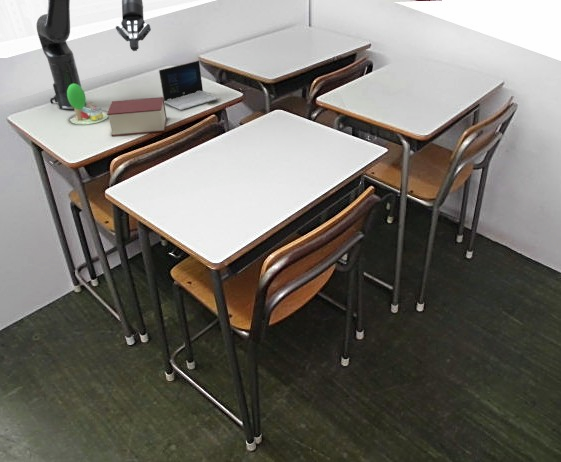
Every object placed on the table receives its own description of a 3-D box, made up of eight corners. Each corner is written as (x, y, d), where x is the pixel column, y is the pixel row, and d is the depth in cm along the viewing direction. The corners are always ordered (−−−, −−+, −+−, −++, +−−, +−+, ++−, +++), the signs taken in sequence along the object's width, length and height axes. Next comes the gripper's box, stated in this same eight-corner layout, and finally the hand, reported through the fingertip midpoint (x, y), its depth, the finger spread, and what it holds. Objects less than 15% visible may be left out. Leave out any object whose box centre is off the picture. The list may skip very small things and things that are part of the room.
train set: (106, 81, 188) (68, 90, 181) (115, 117, 195) (78, 127, 189) (91, 73, 198) (54, 81, 191) (99, 107, 206) (64, 116, 199)
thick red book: (111, 136, 180) (106, 114, 176) (116, 122, 191) (112, 101, 187) (164, 131, 182) (161, 109, 177) (166, 118, 193) (163, 96, 188)
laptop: (180, 111, 198) (175, 76, 191) (164, 103, 206) (158, 70, 199) (220, 99, 208) (216, 66, 201) (202, 92, 216) (198, 60, 209)
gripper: (111, 2, 192) (113, 45, 188) (148, 0, 193) (150, 42, 189) (117, 15, 199) (118, 56, 195) (152, 13, 200) (154, 54, 196)
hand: (134, 49), depth 192 cm, fingers closed
